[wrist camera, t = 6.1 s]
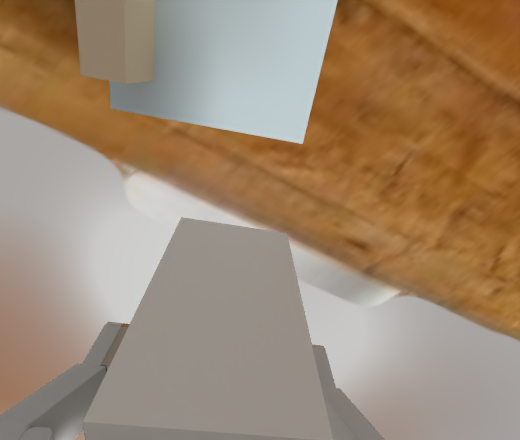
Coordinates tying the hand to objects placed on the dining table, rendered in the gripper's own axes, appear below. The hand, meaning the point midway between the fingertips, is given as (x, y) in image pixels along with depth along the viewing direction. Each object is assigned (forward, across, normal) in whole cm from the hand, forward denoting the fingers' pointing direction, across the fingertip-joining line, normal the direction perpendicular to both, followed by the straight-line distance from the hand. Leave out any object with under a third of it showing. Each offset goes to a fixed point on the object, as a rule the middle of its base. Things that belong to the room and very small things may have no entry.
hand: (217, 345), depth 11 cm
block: (+4, 0, 0) cm, 4 cm away
